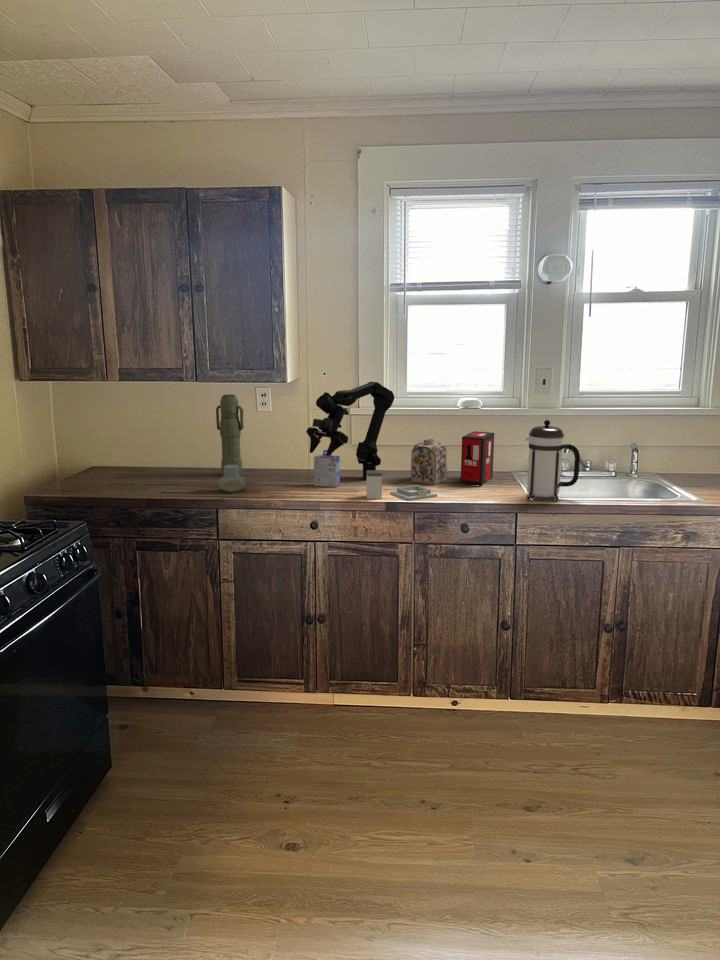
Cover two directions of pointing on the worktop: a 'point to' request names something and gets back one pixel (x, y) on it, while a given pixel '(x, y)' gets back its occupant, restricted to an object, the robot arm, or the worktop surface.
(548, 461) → the coffee press
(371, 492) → the block
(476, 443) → the cleaning product box
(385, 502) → the worktop surface
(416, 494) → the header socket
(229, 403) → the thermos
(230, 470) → the air freshener
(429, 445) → the decorative jar
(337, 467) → the ink cartridge box
